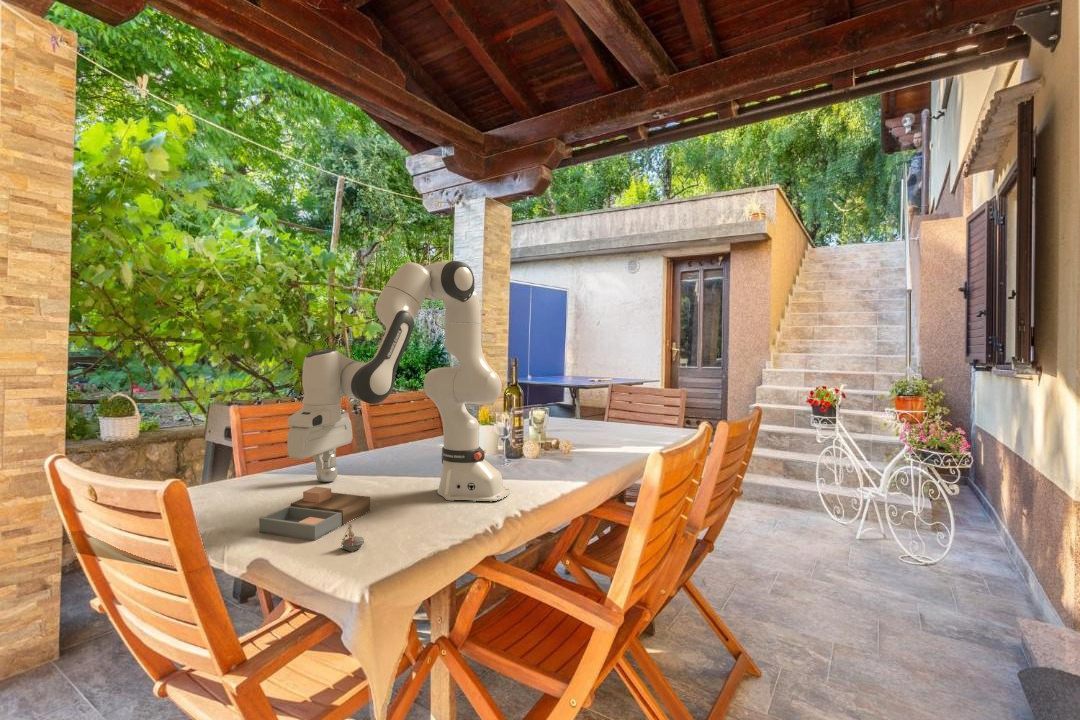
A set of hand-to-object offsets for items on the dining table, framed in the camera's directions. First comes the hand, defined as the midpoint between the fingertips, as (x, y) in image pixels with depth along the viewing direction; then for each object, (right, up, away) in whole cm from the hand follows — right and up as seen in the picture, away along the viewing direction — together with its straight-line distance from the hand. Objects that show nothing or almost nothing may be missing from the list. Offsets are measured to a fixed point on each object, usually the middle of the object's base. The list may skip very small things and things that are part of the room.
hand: (322, 468), depth 133 cm
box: (-5, -15, -1) cm, 16 cm away
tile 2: (-1, -12, -4) cm, 13 cm away
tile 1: (-6, -10, +10) cm, 16 cm away
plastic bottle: (-16, -13, +42) cm, 47 cm away
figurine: (+12, -16, -12) cm, 23 cm away
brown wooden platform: (-2, -14, +10) cm, 18 cm away
